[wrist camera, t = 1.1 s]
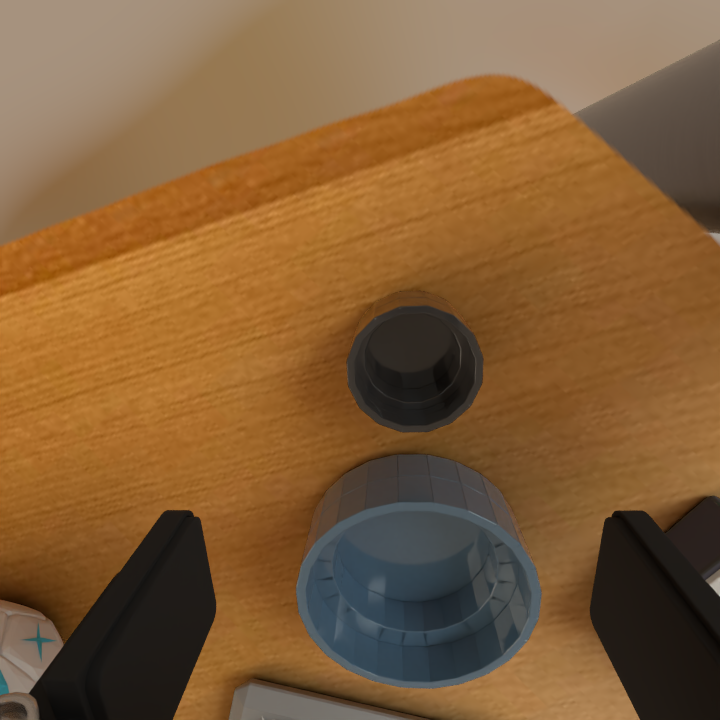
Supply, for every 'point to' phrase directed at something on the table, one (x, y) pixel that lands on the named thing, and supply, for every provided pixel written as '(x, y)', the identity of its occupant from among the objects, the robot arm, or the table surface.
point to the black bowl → (414, 362)
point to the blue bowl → (417, 574)
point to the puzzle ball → (25, 646)
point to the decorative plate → (301, 705)
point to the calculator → (701, 539)
